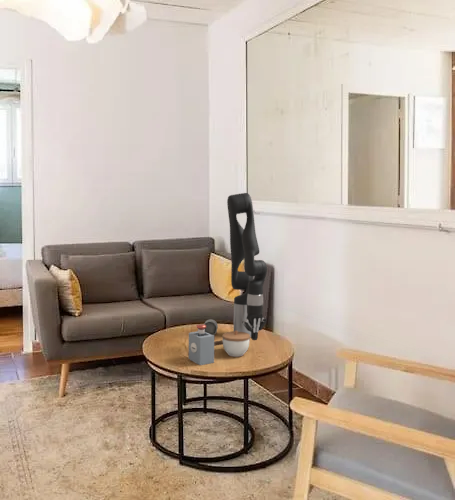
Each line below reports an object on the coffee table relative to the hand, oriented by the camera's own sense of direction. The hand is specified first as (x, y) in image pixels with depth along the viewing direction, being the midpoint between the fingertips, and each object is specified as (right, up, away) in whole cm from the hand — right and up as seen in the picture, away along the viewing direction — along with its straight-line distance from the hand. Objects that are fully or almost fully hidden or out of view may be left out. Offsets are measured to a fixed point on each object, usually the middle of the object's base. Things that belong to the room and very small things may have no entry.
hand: (254, 339), depth 275 cm
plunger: (-24, +3, -17) cm, 29 cm away
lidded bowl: (-9, -6, -5) cm, 12 cm away
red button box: (-24, -7, -15) cm, 29 cm away
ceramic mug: (-23, -2, +28) cm, 36 cm away
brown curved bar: (-17, -5, 0) cm, 18 cm away
